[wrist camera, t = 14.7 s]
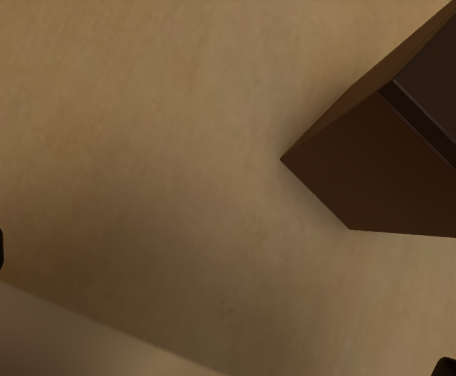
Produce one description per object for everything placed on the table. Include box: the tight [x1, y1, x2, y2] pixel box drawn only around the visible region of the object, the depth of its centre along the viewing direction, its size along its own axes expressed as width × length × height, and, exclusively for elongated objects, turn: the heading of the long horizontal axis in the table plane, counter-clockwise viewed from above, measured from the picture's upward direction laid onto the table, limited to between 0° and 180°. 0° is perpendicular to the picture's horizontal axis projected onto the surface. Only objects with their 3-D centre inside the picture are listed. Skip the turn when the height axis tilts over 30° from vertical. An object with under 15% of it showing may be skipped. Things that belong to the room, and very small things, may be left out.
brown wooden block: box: [280, 0, 456, 238], centre depth 16 cm, size 6×6×12 cm
